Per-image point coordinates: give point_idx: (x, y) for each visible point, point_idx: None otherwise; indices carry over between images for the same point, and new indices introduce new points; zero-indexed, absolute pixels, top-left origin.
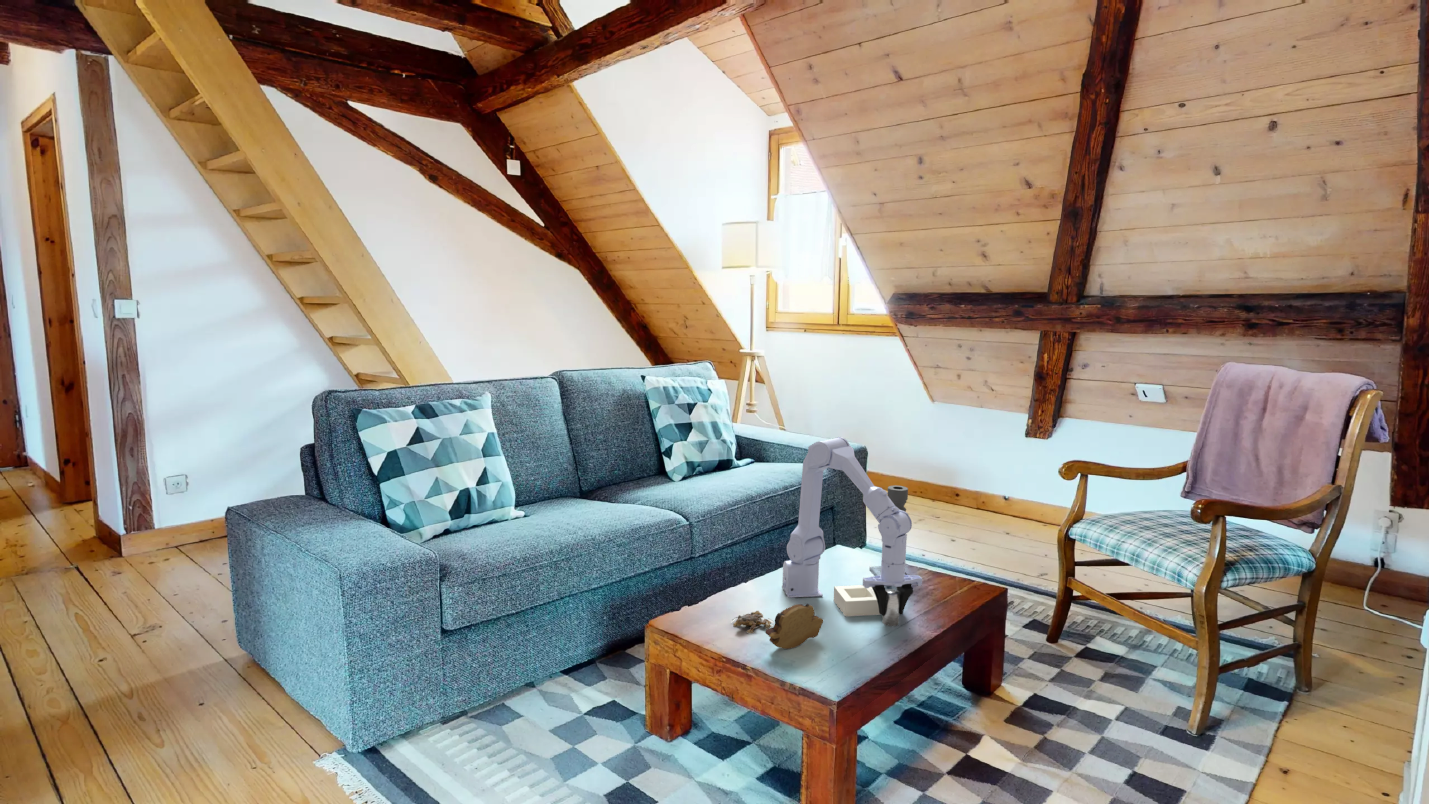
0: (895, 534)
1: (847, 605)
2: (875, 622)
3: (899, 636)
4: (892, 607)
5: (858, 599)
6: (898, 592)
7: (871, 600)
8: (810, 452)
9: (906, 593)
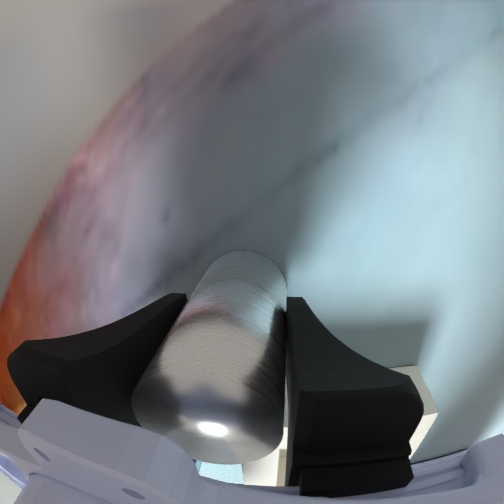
0: None
1: (425, 399)
2: (319, 305)
3: (253, 122)
4: (235, 305)
5: None
6: (145, 408)
7: None
8: None
9: (71, 351)
